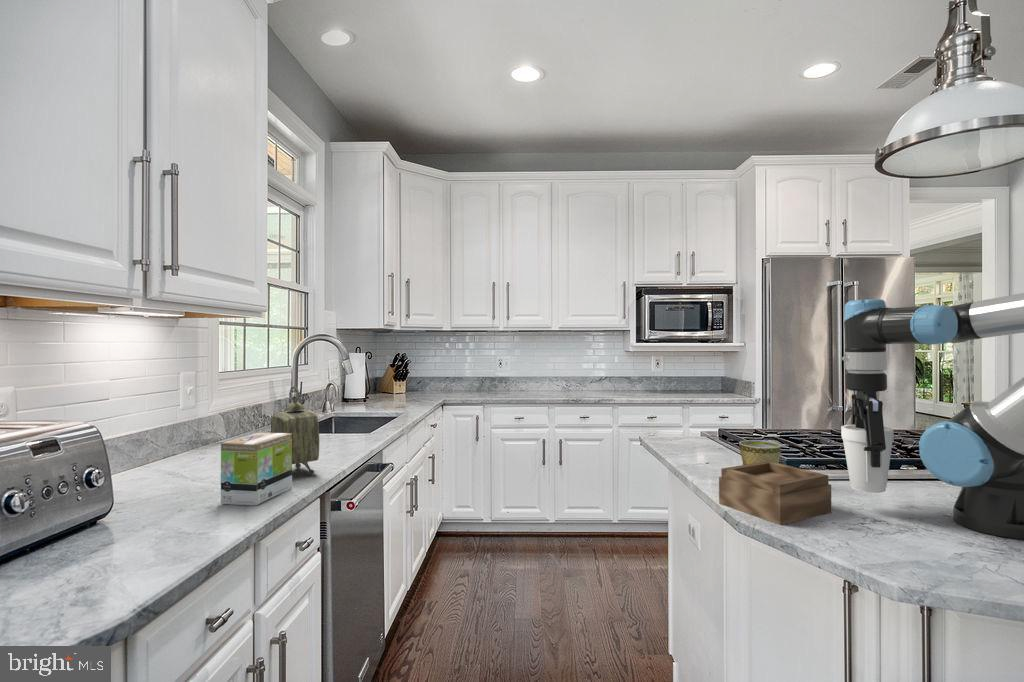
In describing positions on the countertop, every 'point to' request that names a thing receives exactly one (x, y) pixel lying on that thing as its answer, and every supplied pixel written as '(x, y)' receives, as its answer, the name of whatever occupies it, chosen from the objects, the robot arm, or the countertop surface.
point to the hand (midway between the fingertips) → (867, 476)
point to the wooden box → (775, 491)
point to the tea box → (255, 468)
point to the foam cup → (864, 458)
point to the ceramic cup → (759, 451)
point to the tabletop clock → (299, 431)
